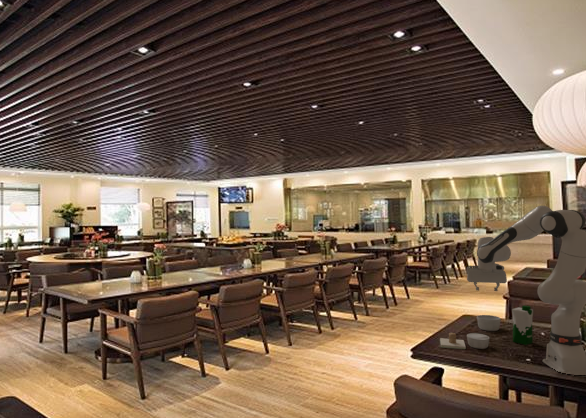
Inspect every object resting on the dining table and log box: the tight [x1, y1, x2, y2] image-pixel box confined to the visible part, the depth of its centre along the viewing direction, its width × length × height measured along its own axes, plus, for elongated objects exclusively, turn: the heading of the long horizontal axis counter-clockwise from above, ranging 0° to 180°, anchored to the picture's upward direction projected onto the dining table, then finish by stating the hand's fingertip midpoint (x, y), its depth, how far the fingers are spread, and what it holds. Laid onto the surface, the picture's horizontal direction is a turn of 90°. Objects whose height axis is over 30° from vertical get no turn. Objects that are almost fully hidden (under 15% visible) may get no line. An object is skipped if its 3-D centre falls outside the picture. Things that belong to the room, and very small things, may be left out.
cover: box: [439, 332, 467, 349], centre depth 225 cm, size 12×12×5 cm
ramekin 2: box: [466, 332, 491, 350], centre depth 223 cm, size 11×11×5 cm
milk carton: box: [511, 305, 534, 346], centre depth 229 cm, size 9×9×20 cm
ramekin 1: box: [476, 314, 502, 332], centre depth 256 cm, size 13×13×7 cm
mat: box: [439, 341, 467, 350], centre depth 225 cm, size 13×12×1 cm
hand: (486, 290), depth 235 cm, fingers open, 8 cm apart
